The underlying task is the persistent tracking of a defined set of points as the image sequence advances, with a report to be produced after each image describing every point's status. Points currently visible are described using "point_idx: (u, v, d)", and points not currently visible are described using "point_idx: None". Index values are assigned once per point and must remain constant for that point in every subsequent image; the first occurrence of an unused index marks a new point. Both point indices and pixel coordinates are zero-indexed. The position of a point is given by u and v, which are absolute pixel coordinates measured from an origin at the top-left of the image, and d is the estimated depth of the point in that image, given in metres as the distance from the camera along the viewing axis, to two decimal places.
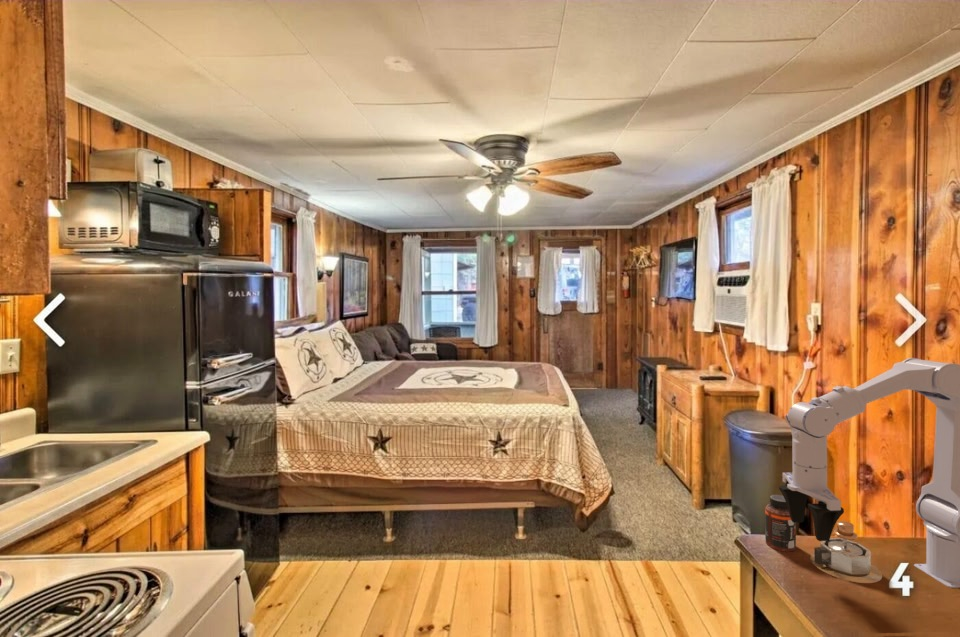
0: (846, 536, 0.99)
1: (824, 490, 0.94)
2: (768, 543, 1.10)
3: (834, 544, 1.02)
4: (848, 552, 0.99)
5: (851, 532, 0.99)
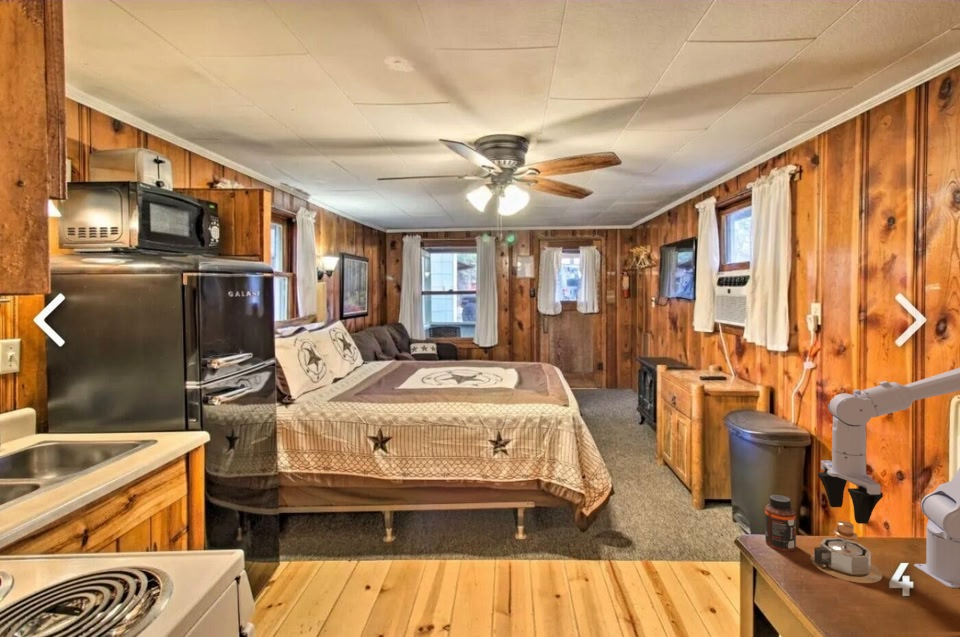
0: (846, 536, 0.99)
1: (863, 476, 0.99)
2: (768, 543, 1.10)
3: (834, 544, 1.02)
4: (848, 552, 0.99)
5: (851, 532, 0.99)
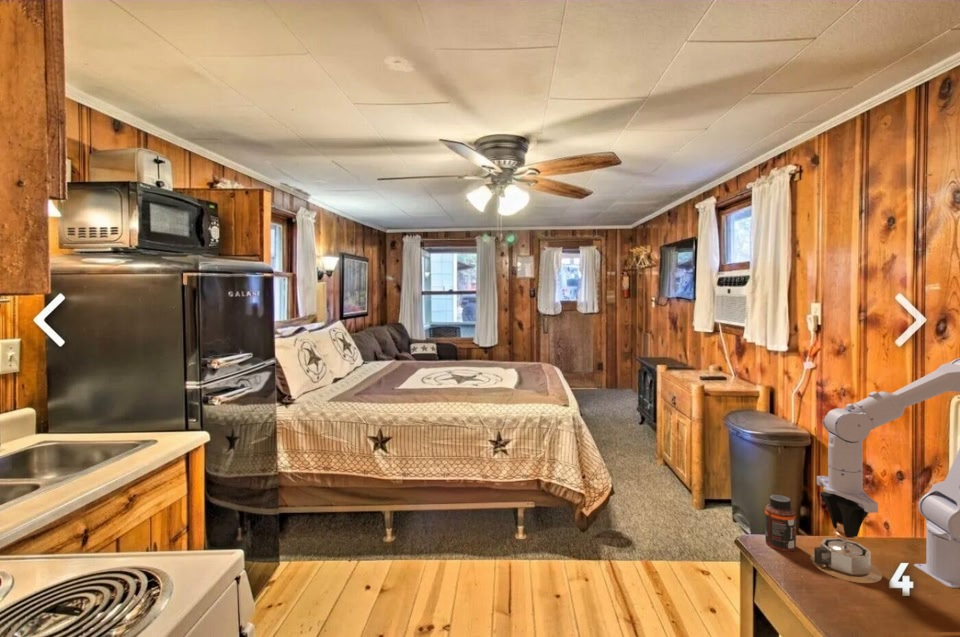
0: (846, 536, 0.99)
1: (860, 493, 0.97)
2: (768, 543, 1.10)
3: (834, 544, 1.02)
4: (848, 552, 0.99)
5: None
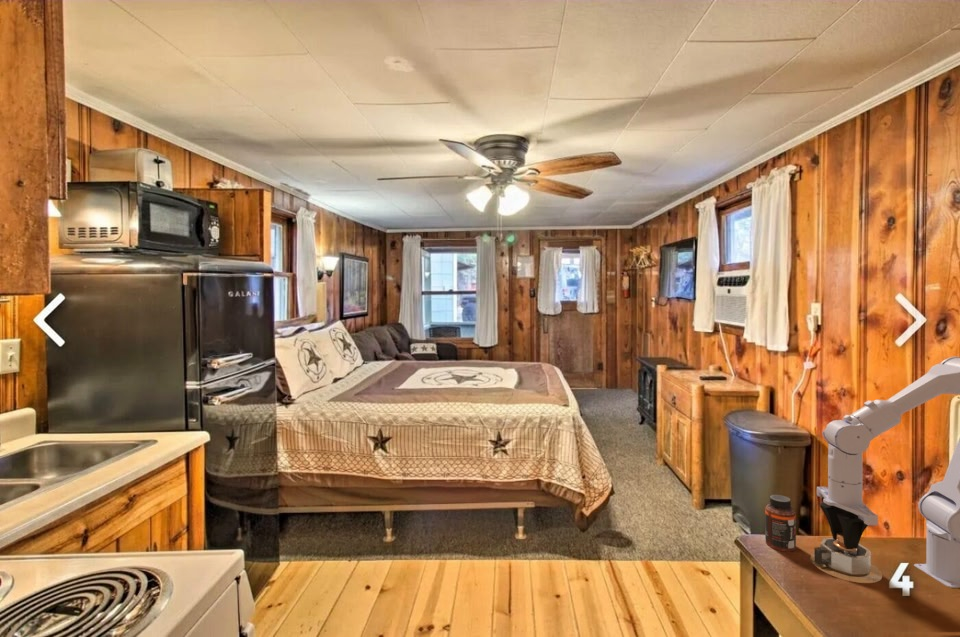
0: (846, 548, 0.99)
1: (860, 505, 0.98)
2: (768, 543, 1.10)
3: None
4: None
5: None
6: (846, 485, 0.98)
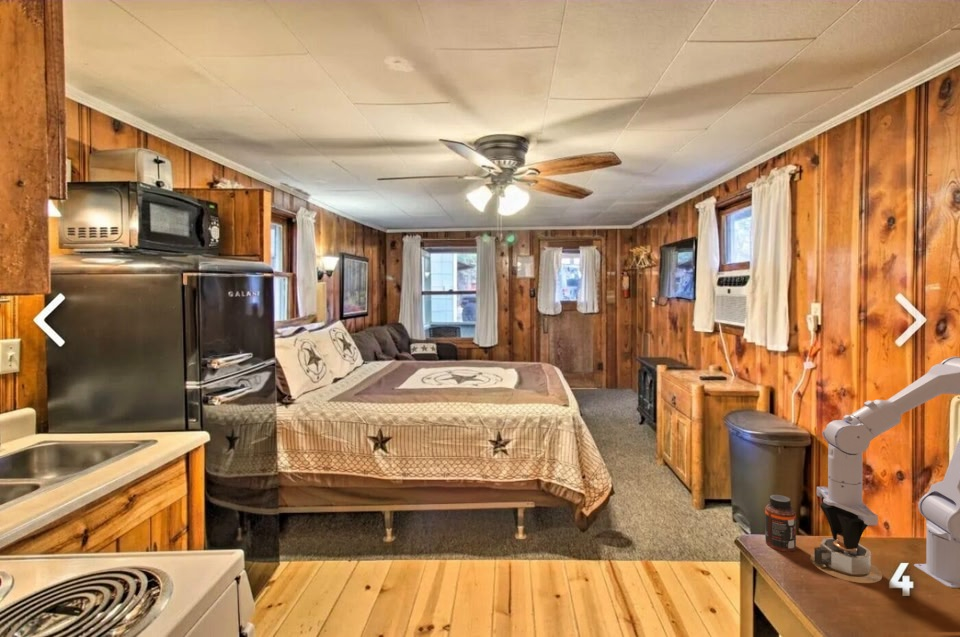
0: (846, 548, 0.99)
1: (860, 505, 0.98)
2: (768, 543, 1.10)
3: None
4: None
5: None
6: (846, 485, 0.98)
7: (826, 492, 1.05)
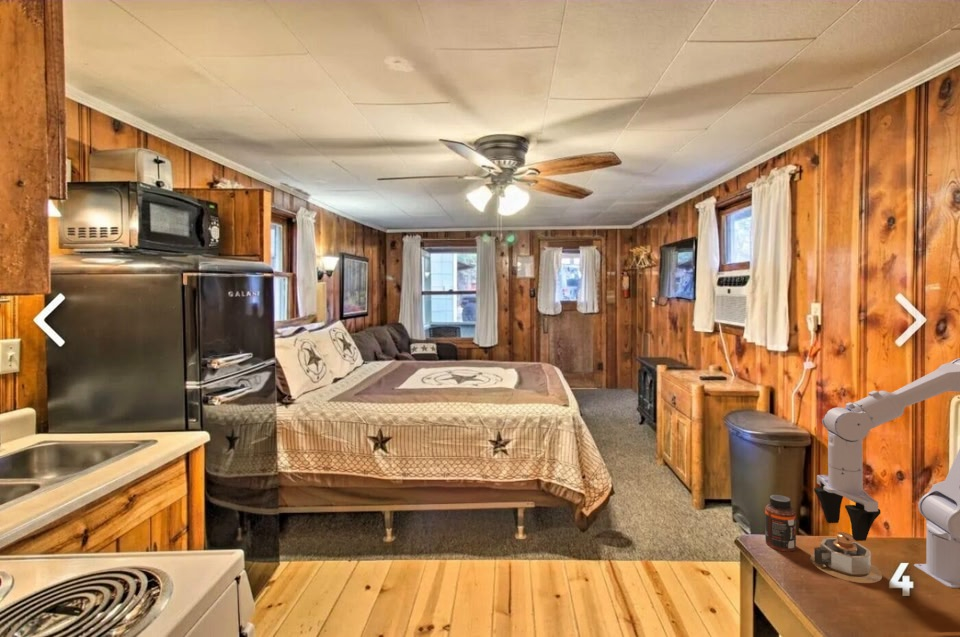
0: (846, 548, 0.99)
1: (860, 492, 0.97)
2: (768, 543, 1.10)
3: None
4: None
5: (851, 544, 0.99)
6: (846, 472, 0.98)
7: (826, 480, 1.05)
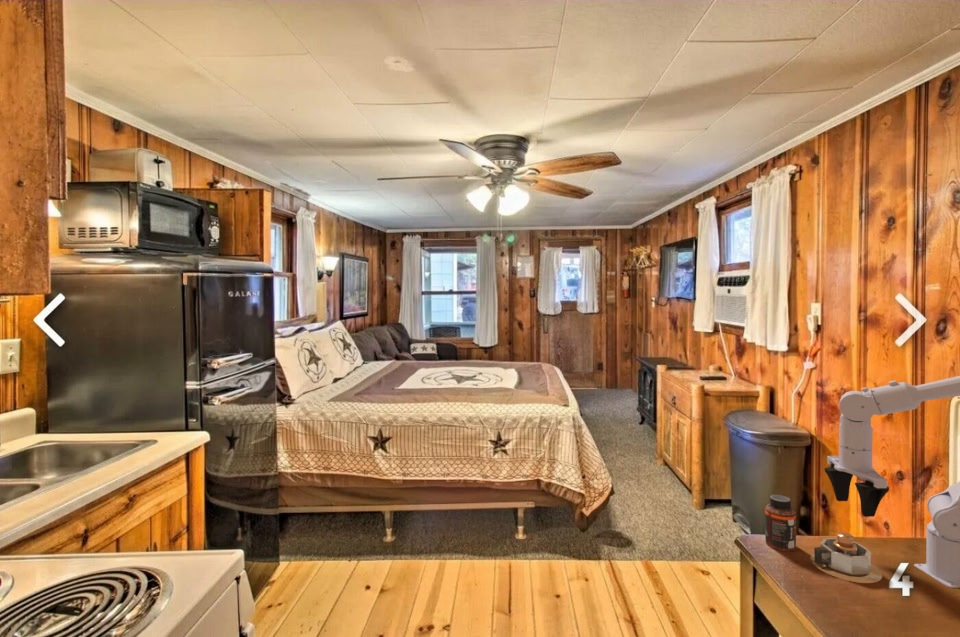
0: (846, 548, 0.99)
1: (870, 470, 1.02)
2: (768, 543, 1.10)
3: None
4: None
5: (851, 544, 0.99)
6: (857, 451, 1.02)
7: (837, 460, 1.09)
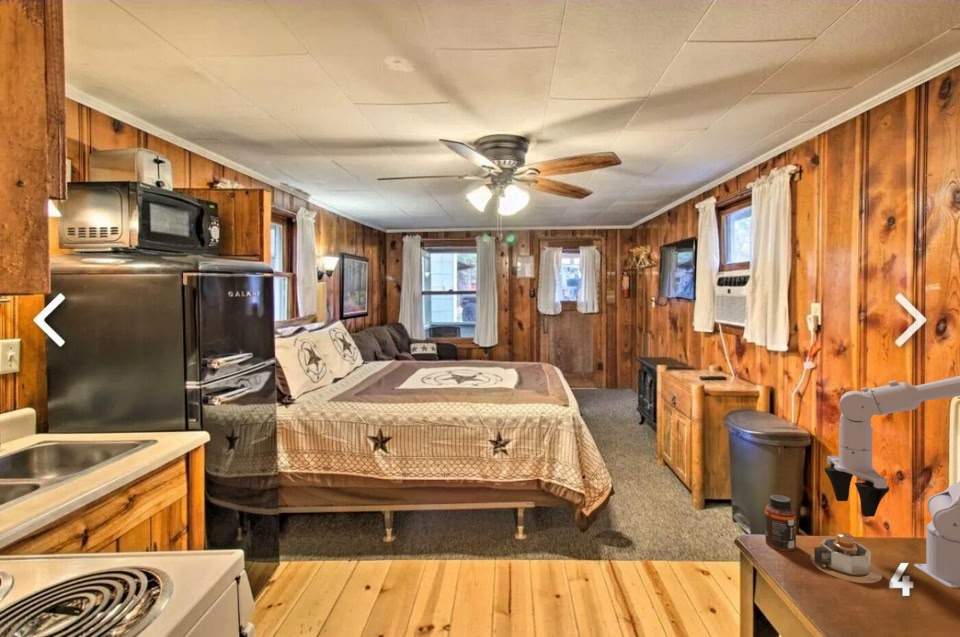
0: (846, 548, 0.99)
1: (870, 470, 1.02)
2: (768, 543, 1.10)
3: None
4: None
5: (851, 544, 0.99)
6: (857, 451, 1.02)
7: (837, 460, 1.09)
